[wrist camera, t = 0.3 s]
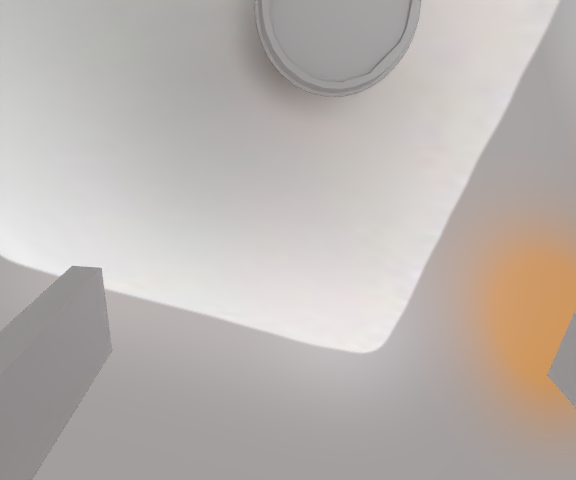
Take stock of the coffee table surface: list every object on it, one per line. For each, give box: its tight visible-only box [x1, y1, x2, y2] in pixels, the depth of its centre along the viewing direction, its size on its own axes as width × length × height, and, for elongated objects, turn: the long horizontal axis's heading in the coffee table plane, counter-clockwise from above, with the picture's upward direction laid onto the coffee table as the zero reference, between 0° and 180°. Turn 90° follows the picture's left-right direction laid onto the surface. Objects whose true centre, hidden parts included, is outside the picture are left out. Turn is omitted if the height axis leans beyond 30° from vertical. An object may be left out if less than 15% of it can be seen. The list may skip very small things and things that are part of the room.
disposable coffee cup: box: [255, 0, 421, 96], centre depth 27 cm, size 10×10×12 cm
